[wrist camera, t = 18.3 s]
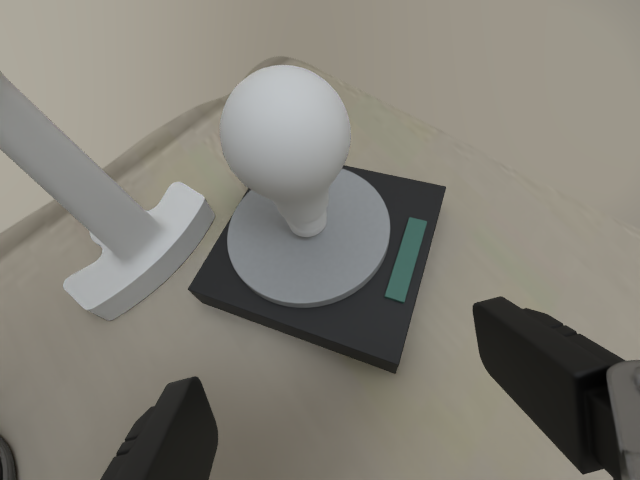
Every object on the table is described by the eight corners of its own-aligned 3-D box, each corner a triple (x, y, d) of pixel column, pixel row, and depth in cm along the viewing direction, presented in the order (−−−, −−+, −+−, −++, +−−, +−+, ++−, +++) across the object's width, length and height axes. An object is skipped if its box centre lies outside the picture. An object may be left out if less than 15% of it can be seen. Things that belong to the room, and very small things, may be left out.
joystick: (117, 331, 25) (-438, 59, 8) (61, 277, 28) (-430, -6, 11) (225, 219, 29) (19, -121, 12) (166, 183, 32) (-67, -133, 15)
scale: (395, 373, 21) (399, 362, 18) (202, 302, 25) (181, 284, 22) (440, 206, 27) (448, 179, 24) (277, 170, 31) (269, 142, 28)
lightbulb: (374, 235, 23) (379, 81, 13) (293, 286, 21) (235, 156, 12) (323, 178, 26) (297, 20, 16) (249, 220, 24) (176, 74, 15)
